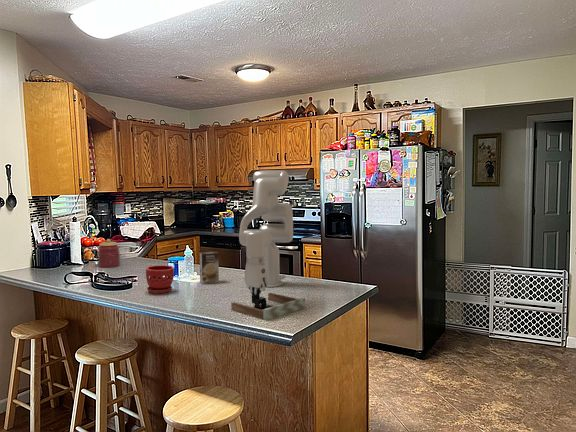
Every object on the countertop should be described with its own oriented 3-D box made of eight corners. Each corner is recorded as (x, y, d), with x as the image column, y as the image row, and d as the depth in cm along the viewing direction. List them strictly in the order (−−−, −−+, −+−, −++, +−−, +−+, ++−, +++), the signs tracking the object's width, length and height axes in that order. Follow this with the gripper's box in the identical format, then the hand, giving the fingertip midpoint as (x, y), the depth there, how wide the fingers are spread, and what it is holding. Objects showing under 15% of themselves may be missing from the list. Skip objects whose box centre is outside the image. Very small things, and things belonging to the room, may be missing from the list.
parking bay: (270, 299, 196) (270, 290, 195) (305, 307, 182) (305, 298, 181) (231, 310, 179) (231, 300, 178) (266, 320, 165) (266, 310, 164)
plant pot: (151, 296, 202) (151, 270, 201) (142, 290, 212) (142, 266, 212) (178, 292, 209) (177, 267, 209) (168, 287, 220) (168, 263, 219)
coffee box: (201, 284, 225) (201, 253, 224) (199, 281, 231) (199, 252, 230) (219, 282, 229) (218, 252, 228) (216, 280, 235) (216, 251, 234)
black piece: (265, 304, 189) (265, 294, 189) (277, 307, 184) (277, 296, 184) (243, 310, 180) (243, 299, 180) (255, 313, 175) (255, 302, 175)
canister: (116, 263, 288) (115, 237, 286) (123, 266, 278) (122, 238, 276) (95, 265, 279) (94, 238, 278) (101, 268, 269) (100, 240, 268)
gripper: (274, 261, 182) (274, 304, 183) (250, 257, 192) (250, 298, 193) (261, 263, 176) (261, 308, 177) (237, 259, 186) (237, 301, 188)
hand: (255, 302), depth 185 cm, fingers closed
